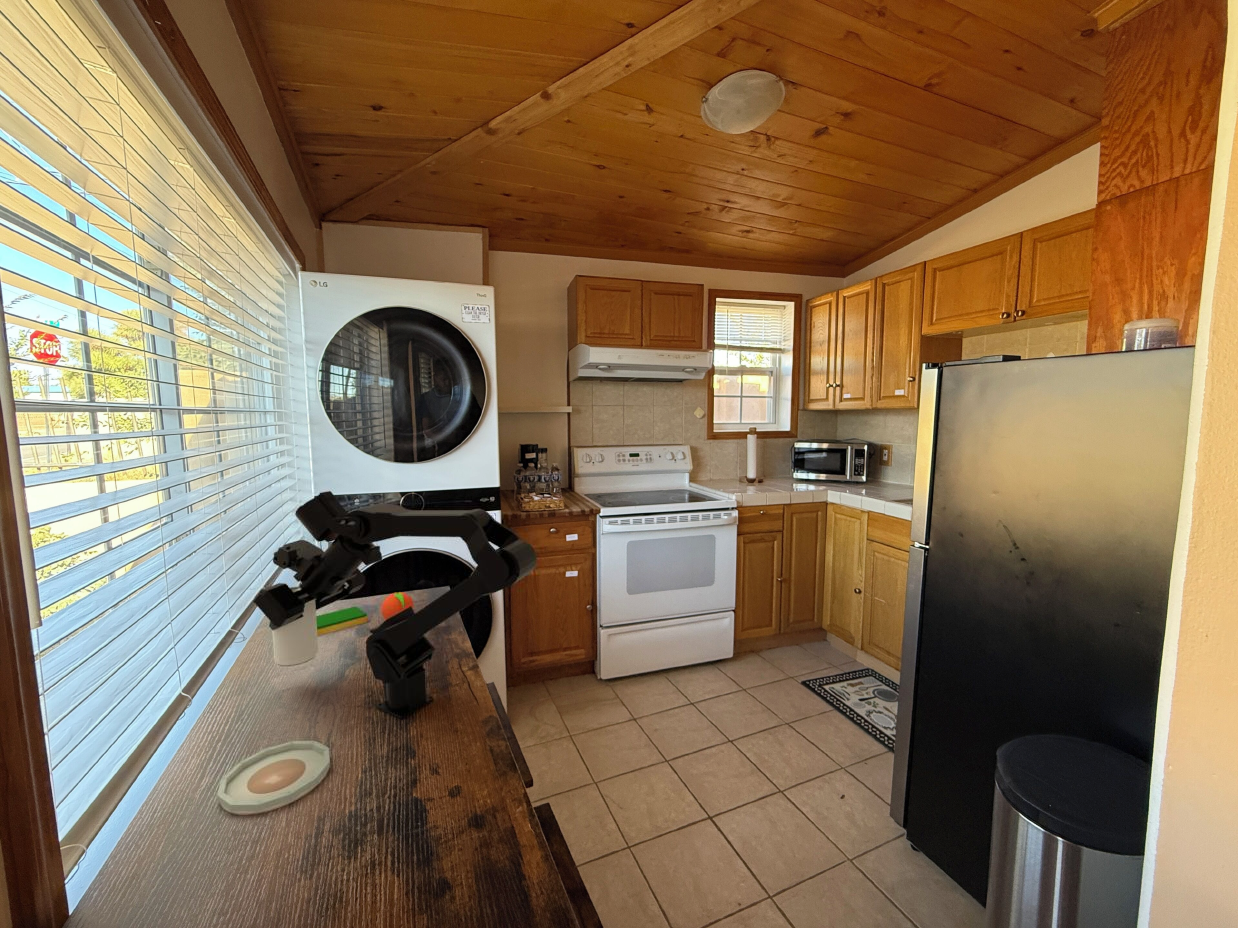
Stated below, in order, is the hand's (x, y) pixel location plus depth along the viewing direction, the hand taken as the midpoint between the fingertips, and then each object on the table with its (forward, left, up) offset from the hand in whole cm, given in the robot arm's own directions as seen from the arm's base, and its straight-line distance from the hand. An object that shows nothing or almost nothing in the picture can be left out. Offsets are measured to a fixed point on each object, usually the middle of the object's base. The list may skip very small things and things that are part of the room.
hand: (288, 620), depth 88 cm
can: (-1, 0, -7) cm, 7 cm away
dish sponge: (+20, -19, -13) cm, 31 cm away
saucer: (-22, +14, -12) cm, 29 cm away
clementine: (+8, -28, -13) cm, 32 cm away
